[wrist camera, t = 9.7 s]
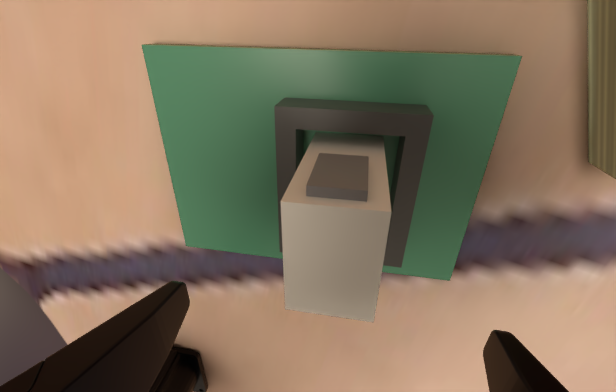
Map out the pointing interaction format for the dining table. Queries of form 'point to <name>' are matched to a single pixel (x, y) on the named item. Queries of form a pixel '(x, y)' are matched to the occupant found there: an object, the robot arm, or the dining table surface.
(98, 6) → the dining table surface
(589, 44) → the hardcover book
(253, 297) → the dining table surface
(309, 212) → the light grey upright block
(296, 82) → the circuit board
